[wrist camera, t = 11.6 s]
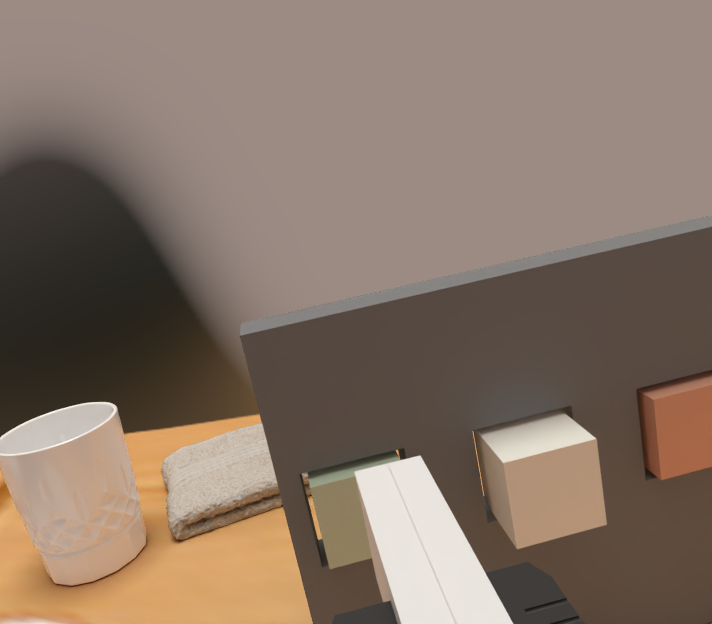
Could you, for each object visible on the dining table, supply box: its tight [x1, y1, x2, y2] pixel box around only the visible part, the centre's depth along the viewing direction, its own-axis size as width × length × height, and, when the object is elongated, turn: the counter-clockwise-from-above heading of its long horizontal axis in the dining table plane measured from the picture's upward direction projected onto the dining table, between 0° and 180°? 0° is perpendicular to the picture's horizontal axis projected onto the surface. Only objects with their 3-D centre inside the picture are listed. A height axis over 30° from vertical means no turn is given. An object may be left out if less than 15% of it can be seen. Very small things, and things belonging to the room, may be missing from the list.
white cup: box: [0, 402, 147, 586], centre depth 45 cm, size 8×8×10 cm
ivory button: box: [473, 409, 607, 549], centre depth 26 cm, size 4×4×4 cm
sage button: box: [308, 450, 400, 569], centre depth 27 cm, size 4×4×4 cm
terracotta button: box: [636, 370, 712, 480], centre depth 28 cm, size 4×4×4 cm
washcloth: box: [161, 423, 312, 540], centre depth 53 cm, size 12×18×3 cm, turn 109°
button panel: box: [240, 216, 712, 624], centre depth 31 cm, size 20×9×18 cm, turn 99°
